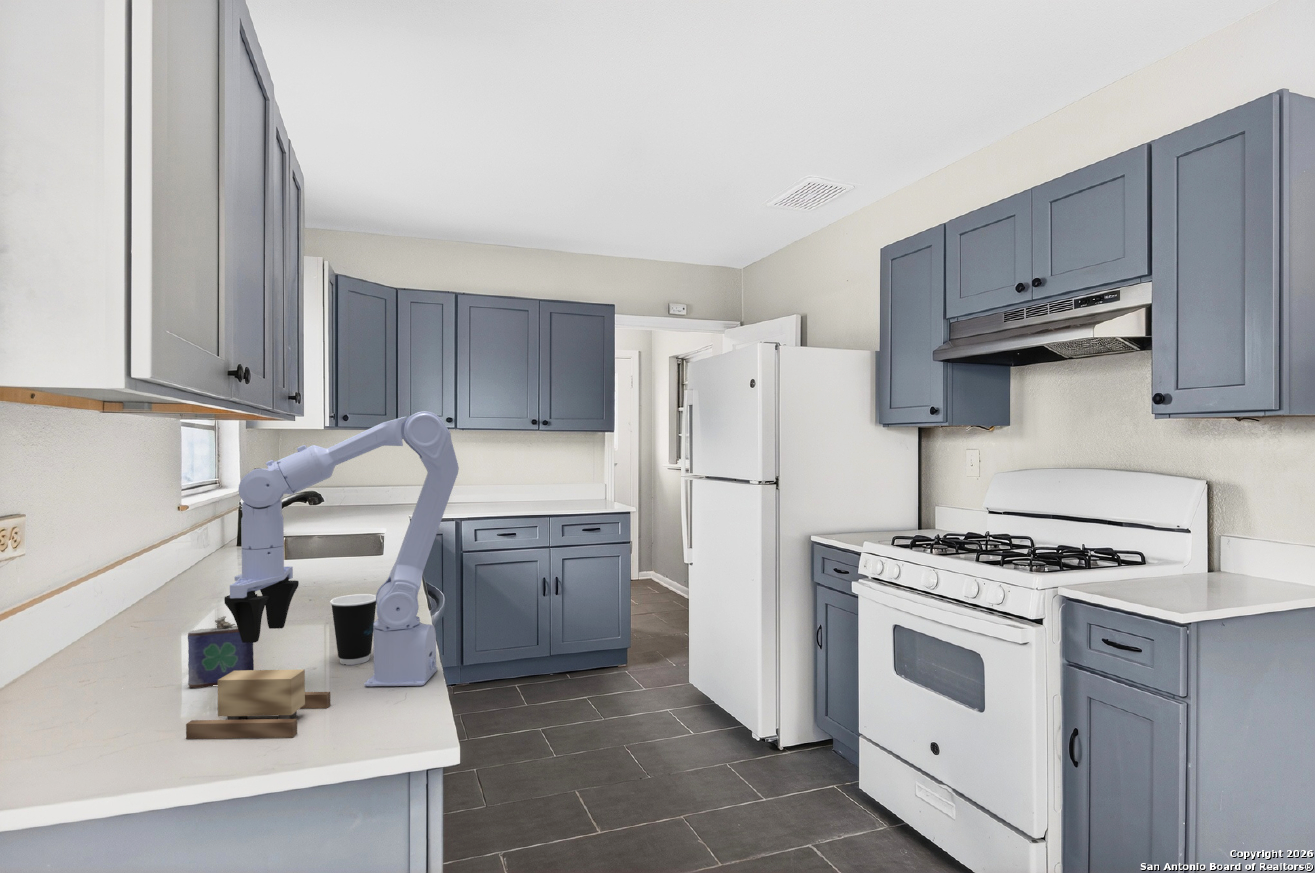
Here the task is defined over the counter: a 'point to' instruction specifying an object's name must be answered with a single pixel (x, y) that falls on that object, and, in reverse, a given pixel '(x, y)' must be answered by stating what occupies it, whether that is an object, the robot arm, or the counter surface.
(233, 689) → the light wooden block
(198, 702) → the counter surface
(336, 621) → the dixie cup
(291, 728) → the peg frame
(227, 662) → the flask
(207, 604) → the counter surface
